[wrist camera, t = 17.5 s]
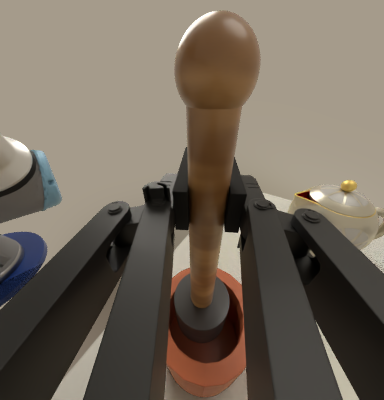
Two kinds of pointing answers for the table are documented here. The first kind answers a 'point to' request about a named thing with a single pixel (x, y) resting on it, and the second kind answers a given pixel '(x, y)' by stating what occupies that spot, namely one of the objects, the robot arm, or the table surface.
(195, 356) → the jar
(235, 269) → the table surface
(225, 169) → the brush
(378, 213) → the teapot
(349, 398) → the table surface
